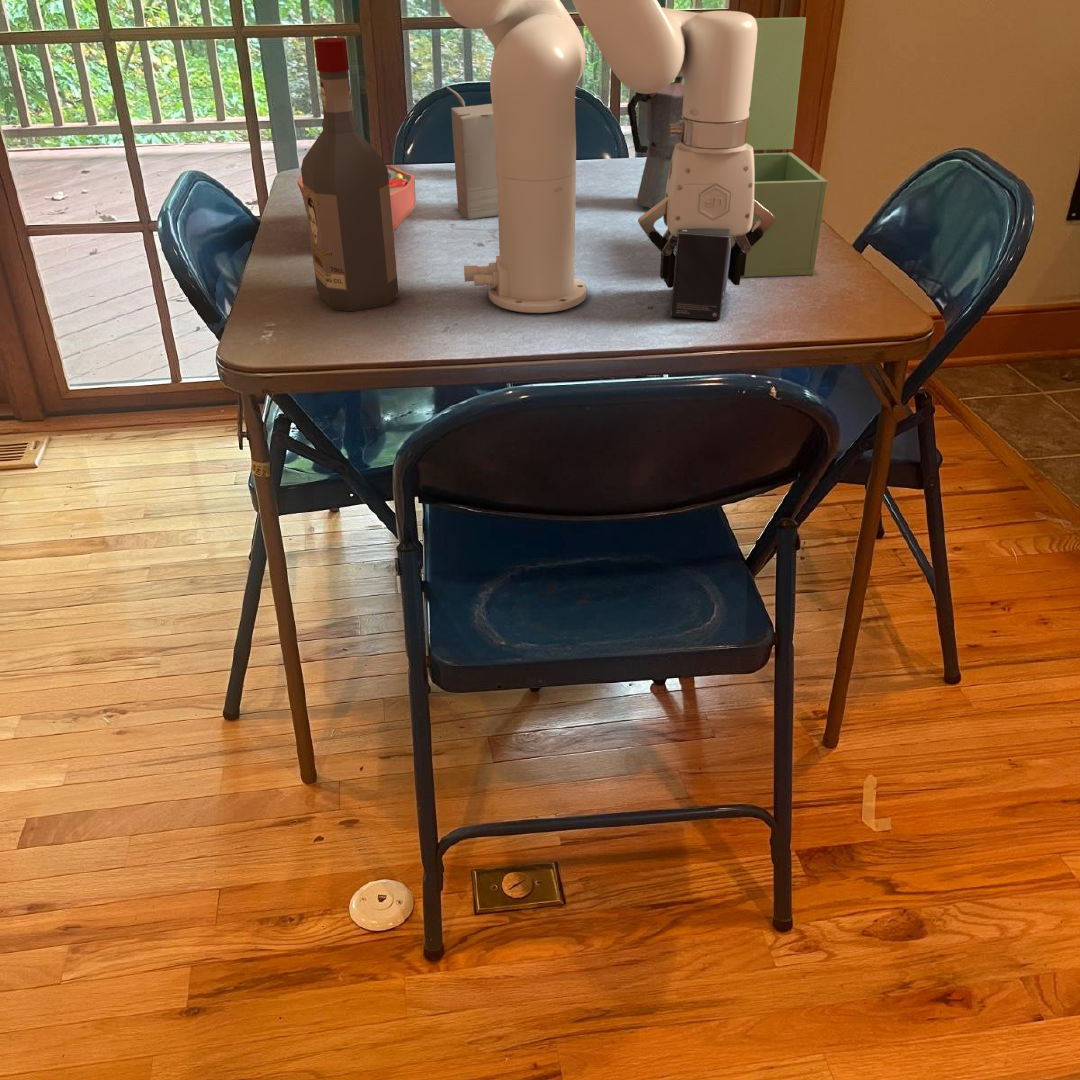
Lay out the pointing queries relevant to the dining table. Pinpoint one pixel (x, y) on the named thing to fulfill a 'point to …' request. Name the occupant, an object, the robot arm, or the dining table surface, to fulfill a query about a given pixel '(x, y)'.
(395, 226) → the cell model
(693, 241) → the small box
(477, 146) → the cosmetic box
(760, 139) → the lid
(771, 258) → the chest
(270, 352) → the dining table surface
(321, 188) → the liquor
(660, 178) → the moka pot
